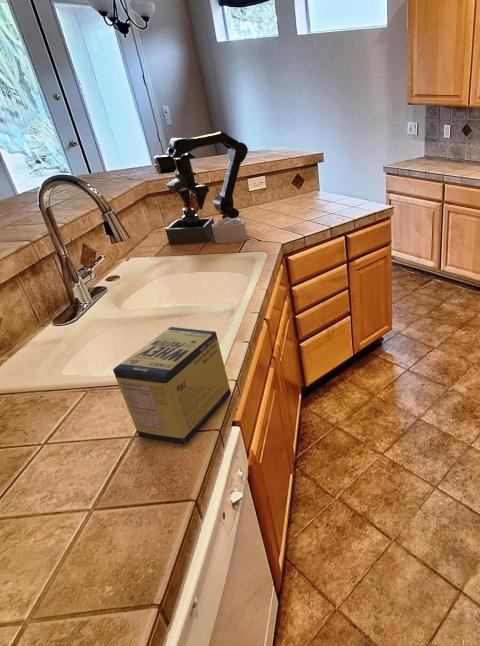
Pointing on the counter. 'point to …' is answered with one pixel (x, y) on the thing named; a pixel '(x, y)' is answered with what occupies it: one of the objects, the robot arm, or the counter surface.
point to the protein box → (174, 384)
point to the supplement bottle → (190, 218)
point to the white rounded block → (229, 230)
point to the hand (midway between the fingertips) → (194, 208)
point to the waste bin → (190, 232)
